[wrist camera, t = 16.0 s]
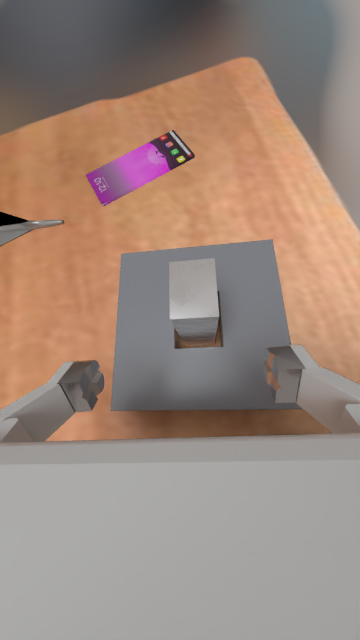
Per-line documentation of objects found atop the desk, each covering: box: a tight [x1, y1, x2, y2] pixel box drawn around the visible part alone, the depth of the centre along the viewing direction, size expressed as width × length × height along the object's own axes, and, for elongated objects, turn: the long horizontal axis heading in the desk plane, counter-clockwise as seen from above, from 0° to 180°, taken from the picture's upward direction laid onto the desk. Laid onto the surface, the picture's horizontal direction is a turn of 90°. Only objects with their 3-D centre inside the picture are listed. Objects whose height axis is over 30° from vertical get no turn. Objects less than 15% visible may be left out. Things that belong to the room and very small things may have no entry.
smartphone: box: [86, 130, 195, 206], centre depth 31 cm, size 7×15×1 cm, turn 118°
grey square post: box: [169, 258, 219, 346], centre depth 18 cm, size 4×3×10 cm
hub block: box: [111, 240, 302, 411], centre depth 21 cm, size 16×16×3 cm
